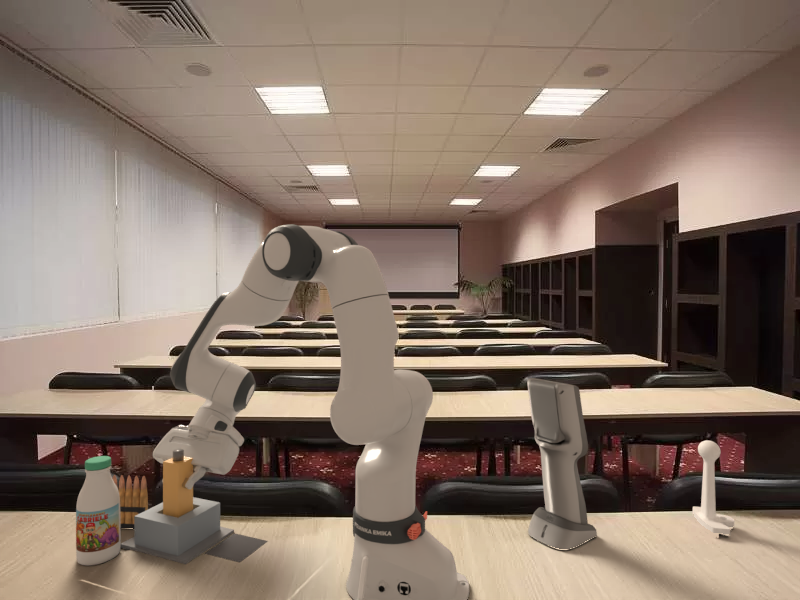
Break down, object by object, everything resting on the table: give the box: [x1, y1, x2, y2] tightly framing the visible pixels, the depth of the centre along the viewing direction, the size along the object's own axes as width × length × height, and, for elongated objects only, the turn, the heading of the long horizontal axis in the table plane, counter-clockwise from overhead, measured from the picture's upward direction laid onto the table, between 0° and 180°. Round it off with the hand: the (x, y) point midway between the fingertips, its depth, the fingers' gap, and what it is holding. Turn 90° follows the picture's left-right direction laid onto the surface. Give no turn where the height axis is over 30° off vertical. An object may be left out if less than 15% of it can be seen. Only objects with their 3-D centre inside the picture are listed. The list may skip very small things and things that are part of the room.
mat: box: [203, 532, 269, 563], centre depth 103 cm, size 9×9×1 cm
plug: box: [162, 449, 194, 518], centre depth 107 cm, size 4×4×14 cm
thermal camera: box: [527, 377, 598, 549], centre depth 109 cm, size 12×13×35 cm
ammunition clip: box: [112, 474, 150, 530], centre depth 113 cm, size 11×2×12 cm, turn 86°
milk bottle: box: [75, 455, 122, 566], centre depth 100 cm, size 8×8×20 cm
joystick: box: [692, 439, 735, 535], centre depth 113 cm, size 11×8×20 cm
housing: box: [120, 496, 235, 565], centre depth 107 cm, size 18×14×7 cm
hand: (175, 485), depth 106 cm, fingers closed on plug, 4 cm apart
